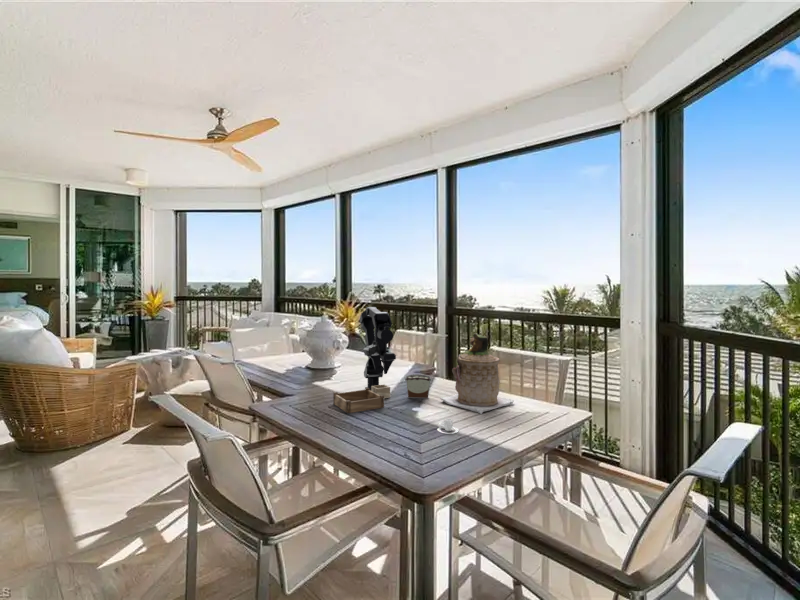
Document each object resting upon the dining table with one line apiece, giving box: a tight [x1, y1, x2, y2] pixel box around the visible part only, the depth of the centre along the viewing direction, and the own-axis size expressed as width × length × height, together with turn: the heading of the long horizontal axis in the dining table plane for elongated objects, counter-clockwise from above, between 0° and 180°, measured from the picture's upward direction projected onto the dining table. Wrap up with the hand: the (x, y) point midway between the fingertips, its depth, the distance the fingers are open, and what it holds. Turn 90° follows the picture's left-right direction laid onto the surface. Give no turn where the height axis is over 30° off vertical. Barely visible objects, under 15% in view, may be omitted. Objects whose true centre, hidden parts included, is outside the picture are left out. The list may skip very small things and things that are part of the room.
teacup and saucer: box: [437, 418, 460, 435], centre depth 165 cm, size 9×8×4 cm
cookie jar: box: [439, 333, 515, 415], centre depth 198 cm, size 25×25×32 cm
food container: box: [404, 373, 432, 399], centre depth 210 cm, size 12×6×10 cm, turn 84°
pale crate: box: [371, 383, 391, 399], centre depth 209 cm, size 6×7×5 cm
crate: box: [333, 387, 385, 414], centre depth 195 cm, size 16×17×5 cm
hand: (380, 372), depth 208 cm, fingers open, 9 cm apart
